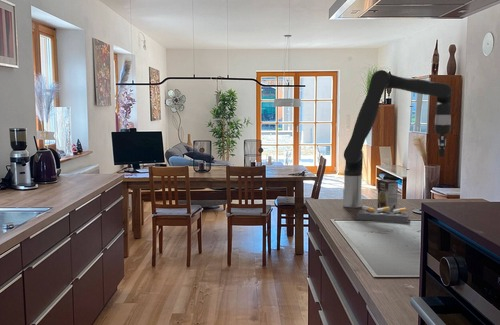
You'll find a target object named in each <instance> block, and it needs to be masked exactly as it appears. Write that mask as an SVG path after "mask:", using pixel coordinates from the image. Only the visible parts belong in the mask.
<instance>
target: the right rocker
mask: <svg viewBox="0 0 500 325" xmlns="http://www.w3.org/2000/svg"><path fill="white" fill-rule="evenodd" d="M406 210H407V207H401V208H397V209H394V210H393V212H394V213H397V212H398V213H403V212H406Z"/></svg>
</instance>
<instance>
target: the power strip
mask: <svg viewBox="0 0 500 325" xmlns="http://www.w3.org/2000/svg"><path fill="white" fill-rule="evenodd" d="M356 217H357V218H356V219H357V220H359V221H360V220H361V221H369V222H370V221H372V222H384V223H386V222H387V223H398V224H399V223H400V224H408V223H409V220H410V213H409V212H401V213H398V212H397V213H394V212H382V211H380V212H377V210H374V211H373V212H372V211H366V209H359V210H358V212H357V213H356Z"/></svg>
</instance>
